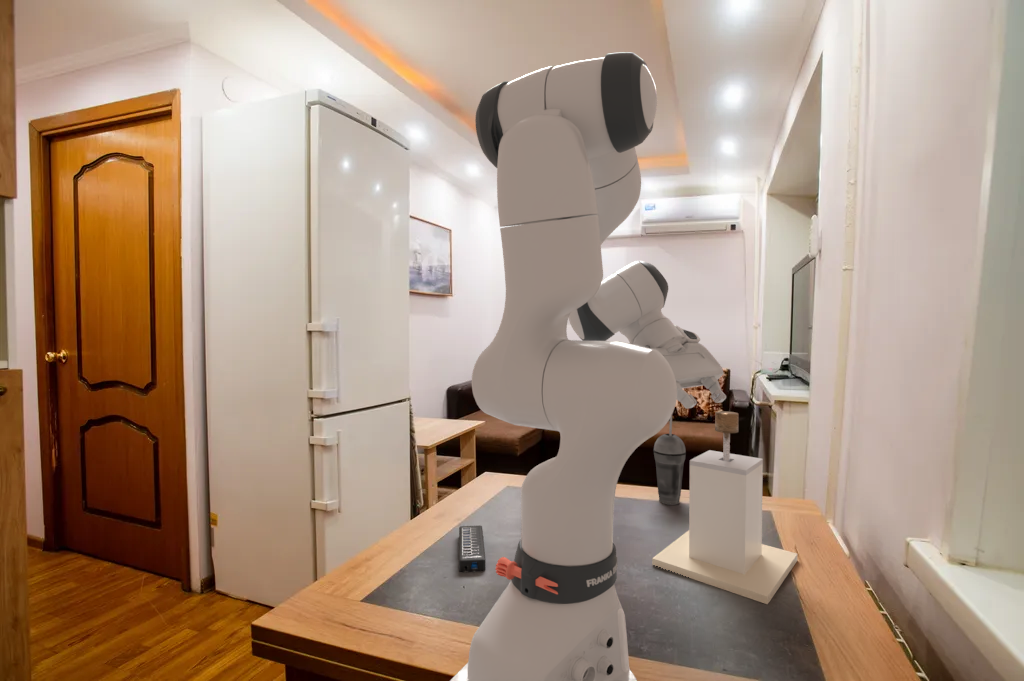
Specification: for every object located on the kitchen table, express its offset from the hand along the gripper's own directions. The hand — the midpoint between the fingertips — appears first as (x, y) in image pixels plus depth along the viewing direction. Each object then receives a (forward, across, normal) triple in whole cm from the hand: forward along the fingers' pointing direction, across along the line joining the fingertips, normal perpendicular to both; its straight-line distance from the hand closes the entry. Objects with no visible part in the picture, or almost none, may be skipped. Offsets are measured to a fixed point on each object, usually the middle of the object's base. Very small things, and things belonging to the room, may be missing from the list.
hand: (707, 403), depth 87 cm
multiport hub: (0, -32, +39) cm, 50 cm away
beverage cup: (+5, +18, +33) cm, 38 cm away
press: (+22, 0, +17) cm, 27 cm away
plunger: (+16, 0, +11) cm, 20 cm away
